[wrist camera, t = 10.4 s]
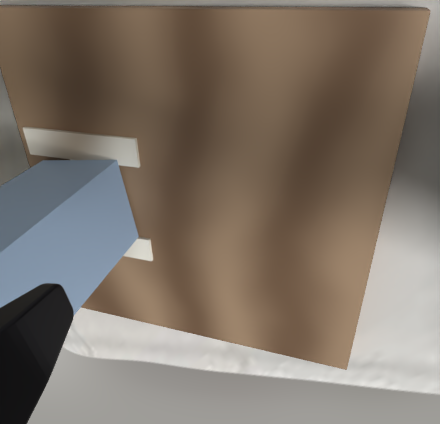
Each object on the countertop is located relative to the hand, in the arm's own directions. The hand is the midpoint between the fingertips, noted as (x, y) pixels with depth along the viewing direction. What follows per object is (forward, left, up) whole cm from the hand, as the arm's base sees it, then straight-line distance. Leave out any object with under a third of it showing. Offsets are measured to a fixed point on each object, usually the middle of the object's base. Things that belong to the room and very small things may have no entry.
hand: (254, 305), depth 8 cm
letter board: (+6, +6, -13) cm, 15 cm away
